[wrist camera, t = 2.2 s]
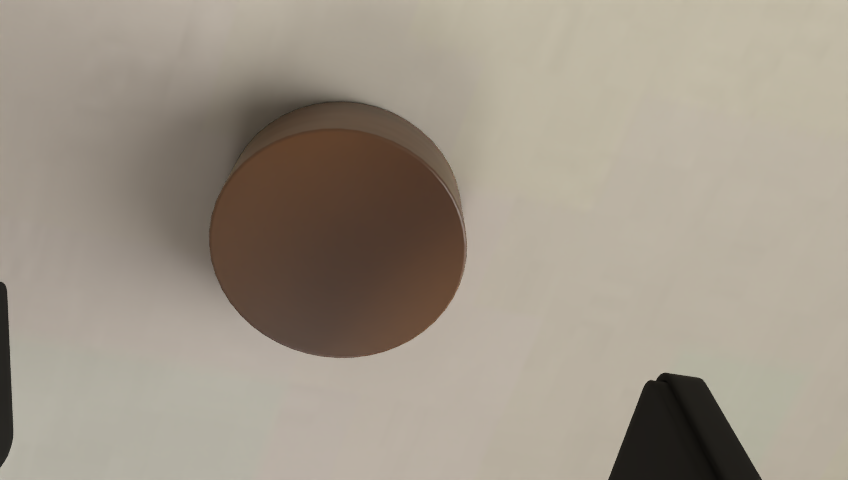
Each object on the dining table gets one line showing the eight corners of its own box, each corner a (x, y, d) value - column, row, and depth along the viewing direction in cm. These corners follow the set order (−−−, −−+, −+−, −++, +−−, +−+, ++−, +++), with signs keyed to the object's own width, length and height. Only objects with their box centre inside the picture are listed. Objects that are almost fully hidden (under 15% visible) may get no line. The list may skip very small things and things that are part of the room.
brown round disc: (181, 227, 17) (157, 266, 15) (323, 49, 15) (314, 72, 13) (362, 350, 18) (358, 398, 17) (509, 201, 17) (520, 238, 15)
